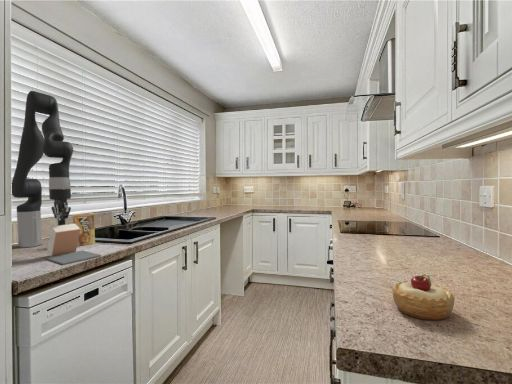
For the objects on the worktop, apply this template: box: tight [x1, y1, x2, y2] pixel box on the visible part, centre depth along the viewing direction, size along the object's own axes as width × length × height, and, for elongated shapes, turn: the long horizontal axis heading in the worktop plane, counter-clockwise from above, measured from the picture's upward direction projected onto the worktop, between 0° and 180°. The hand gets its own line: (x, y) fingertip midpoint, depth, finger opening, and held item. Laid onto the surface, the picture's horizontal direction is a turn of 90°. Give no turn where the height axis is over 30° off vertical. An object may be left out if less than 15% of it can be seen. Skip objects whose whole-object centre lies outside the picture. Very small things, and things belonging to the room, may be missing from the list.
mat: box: [44, 250, 102, 266], centre depth 115 cm, size 16×14×1 cm
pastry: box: [391, 273, 455, 321], centre depth 63 cm, size 12×12×9 cm
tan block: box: [46, 223, 80, 257], centre depth 119 cm, size 5×9×12 cm, turn 147°
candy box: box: [72, 212, 96, 247], centre depth 140 cm, size 9×4×15 cm, turn 129°
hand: (61, 228), depth 120 cm, fingers closed
